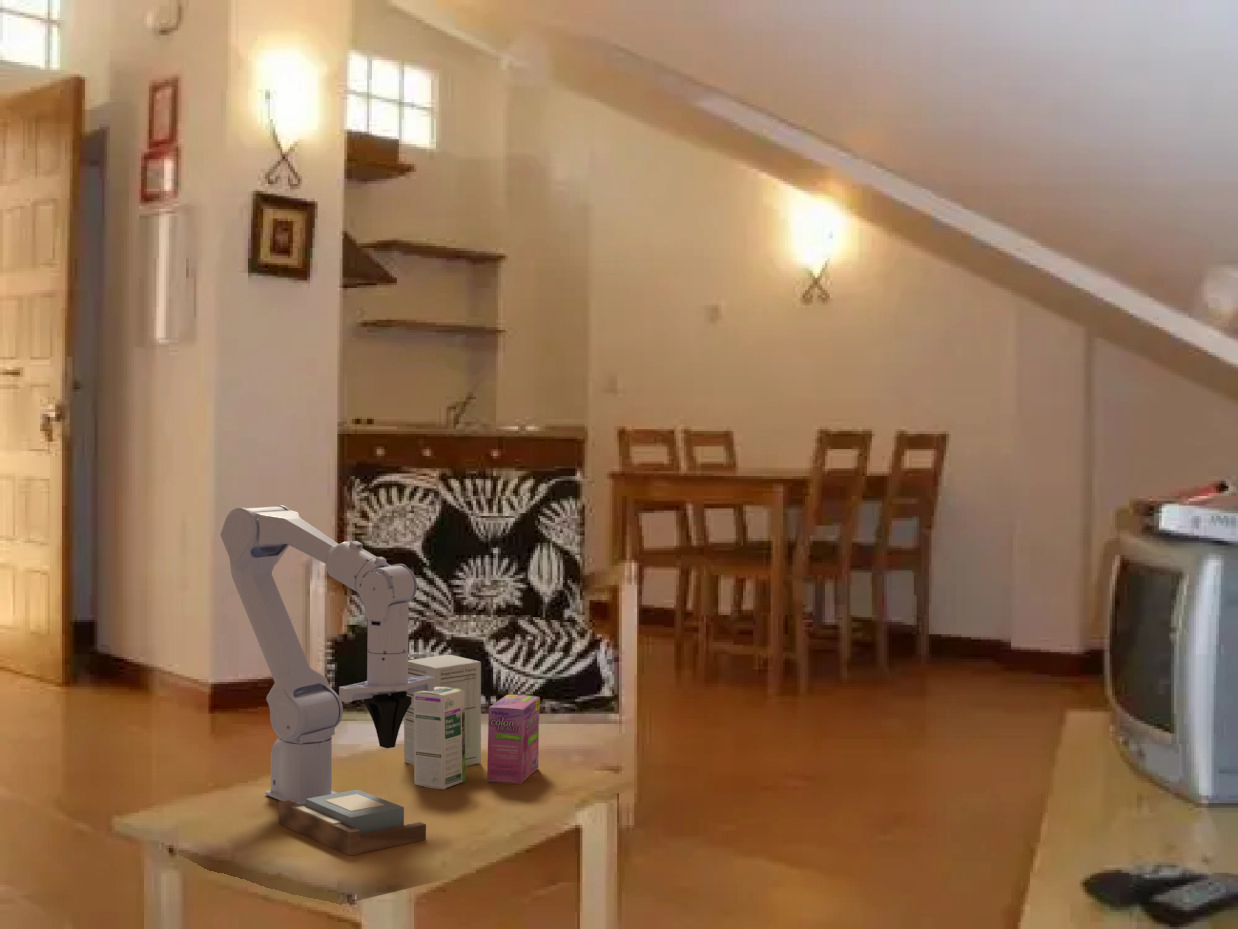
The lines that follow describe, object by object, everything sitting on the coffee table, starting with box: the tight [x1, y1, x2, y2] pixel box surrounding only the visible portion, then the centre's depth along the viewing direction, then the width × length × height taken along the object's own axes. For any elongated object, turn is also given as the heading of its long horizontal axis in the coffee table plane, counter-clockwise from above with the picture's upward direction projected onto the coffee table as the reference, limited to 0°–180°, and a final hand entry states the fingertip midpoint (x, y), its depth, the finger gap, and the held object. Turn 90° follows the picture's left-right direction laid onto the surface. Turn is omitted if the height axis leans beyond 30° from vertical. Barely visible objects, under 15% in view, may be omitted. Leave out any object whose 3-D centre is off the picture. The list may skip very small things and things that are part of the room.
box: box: [486, 694, 541, 785], centre depth 225 cm, size 10×6×12 cm, turn 168°
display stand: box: [278, 800, 427, 857], centre depth 193 cm, size 19×12×3 cm, turn 41°
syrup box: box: [413, 687, 466, 790], centre depth 219 cm, size 6×6×14 cm
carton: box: [306, 788, 405, 834], centre depth 192 cm, size 12×8×5 cm, turn 41°
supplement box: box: [403, 654, 482, 767], centre depth 232 cm, size 10×9×17 cm
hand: (387, 746), depth 202 cm, fingers closed
